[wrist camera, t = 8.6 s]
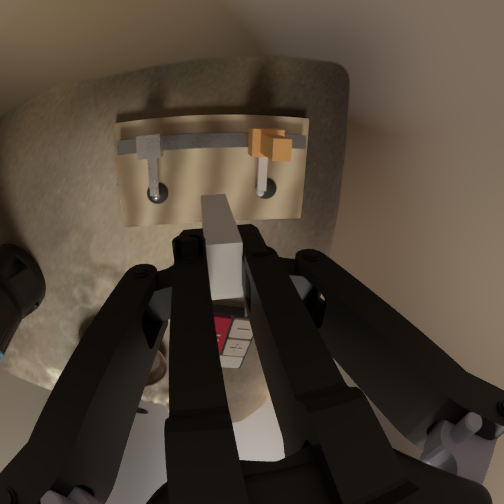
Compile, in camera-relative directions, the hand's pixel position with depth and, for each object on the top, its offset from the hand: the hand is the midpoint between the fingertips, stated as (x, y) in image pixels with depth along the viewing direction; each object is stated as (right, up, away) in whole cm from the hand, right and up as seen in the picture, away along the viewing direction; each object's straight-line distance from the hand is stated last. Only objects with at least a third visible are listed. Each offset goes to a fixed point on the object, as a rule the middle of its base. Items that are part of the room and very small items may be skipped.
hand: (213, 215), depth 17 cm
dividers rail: (-3, +10, +20) cm, 23 cm away
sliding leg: (+3, +11, +21) cm, 23 cm away
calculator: (-4, -19, +39) cm, 44 cm away
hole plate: (-4, +10, +22) cm, 25 cm away
